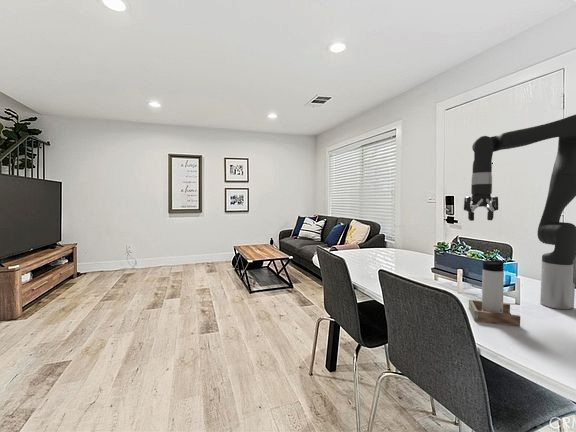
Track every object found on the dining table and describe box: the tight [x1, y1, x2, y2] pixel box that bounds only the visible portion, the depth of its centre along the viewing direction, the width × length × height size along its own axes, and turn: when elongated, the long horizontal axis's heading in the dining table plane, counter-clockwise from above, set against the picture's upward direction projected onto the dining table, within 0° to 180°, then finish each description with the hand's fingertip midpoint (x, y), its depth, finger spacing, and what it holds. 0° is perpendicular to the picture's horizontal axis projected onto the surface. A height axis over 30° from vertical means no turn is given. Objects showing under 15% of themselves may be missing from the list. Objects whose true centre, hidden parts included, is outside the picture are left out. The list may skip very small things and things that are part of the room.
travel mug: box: [481, 259, 506, 313], centre depth 106 cm, size 6×7×20 cm
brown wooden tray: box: [468, 299, 521, 328], centre depth 107 cm, size 13×13×4 cm
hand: (480, 220), depth 130 cm, fingers open, 8 cm apart
